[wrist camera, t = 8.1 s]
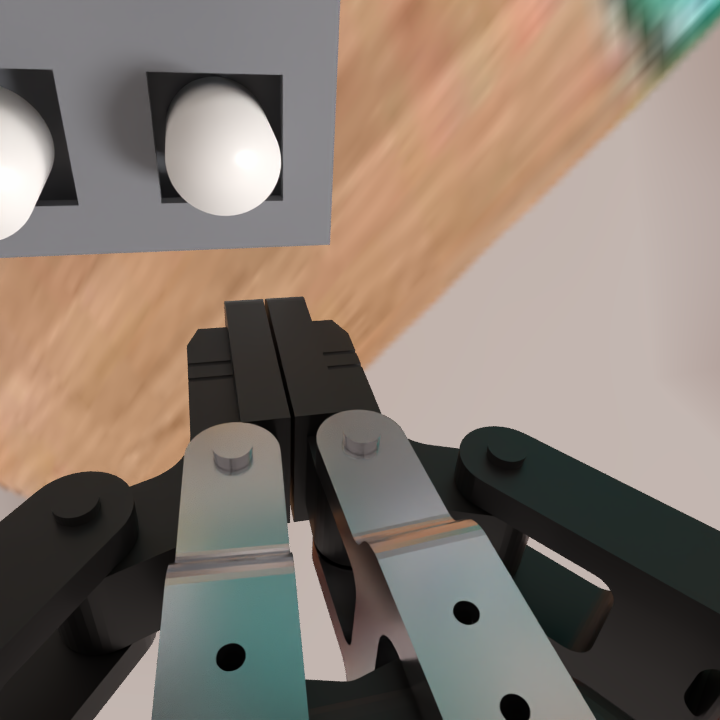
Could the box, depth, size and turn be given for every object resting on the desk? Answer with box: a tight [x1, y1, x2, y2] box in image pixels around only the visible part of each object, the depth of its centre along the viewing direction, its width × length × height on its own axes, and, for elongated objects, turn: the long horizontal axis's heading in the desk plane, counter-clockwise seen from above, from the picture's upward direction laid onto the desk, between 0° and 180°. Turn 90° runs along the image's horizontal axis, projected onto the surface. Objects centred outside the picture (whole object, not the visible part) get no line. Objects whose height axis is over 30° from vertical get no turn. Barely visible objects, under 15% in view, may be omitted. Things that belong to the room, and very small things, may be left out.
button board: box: [0, 0, 340, 258], centre depth 21 cm, size 16×16×3 cm
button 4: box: [165, 77, 281, 216], centre depth 23 cm, size 4×4×4 cm
